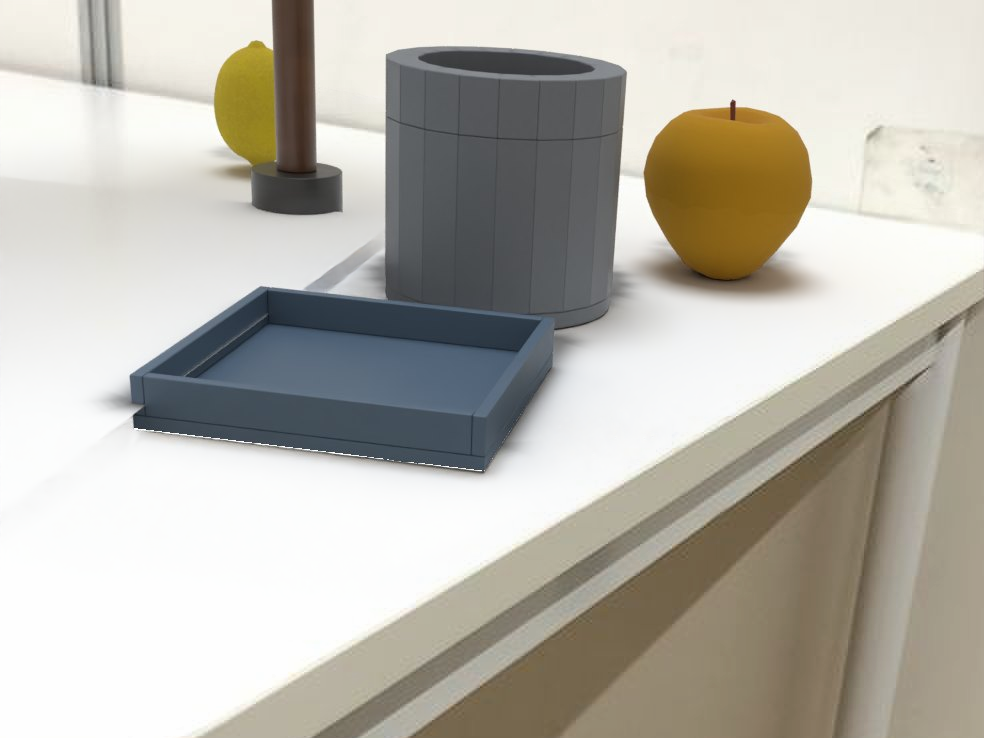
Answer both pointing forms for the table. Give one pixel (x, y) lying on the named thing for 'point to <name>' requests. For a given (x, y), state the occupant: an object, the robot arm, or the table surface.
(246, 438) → the tray
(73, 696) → the table surface
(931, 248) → the table surface
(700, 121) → the apple
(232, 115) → the lemon
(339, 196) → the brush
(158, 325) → the table surface
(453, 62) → the jar
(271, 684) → the table surface
